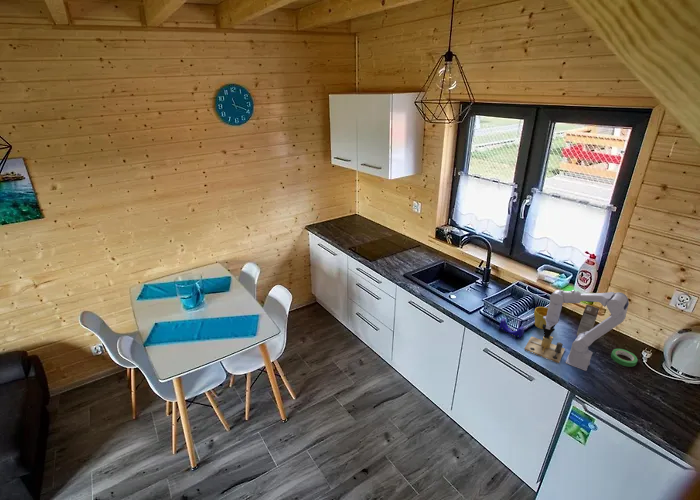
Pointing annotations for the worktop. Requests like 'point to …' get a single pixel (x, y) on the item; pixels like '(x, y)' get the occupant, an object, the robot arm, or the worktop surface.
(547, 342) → the block
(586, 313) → the coffee box
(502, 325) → the cable clip
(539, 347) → the tan base plate
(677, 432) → the worktop surface
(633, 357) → the tape roll
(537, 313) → the plant pot
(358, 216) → the worktop surface
